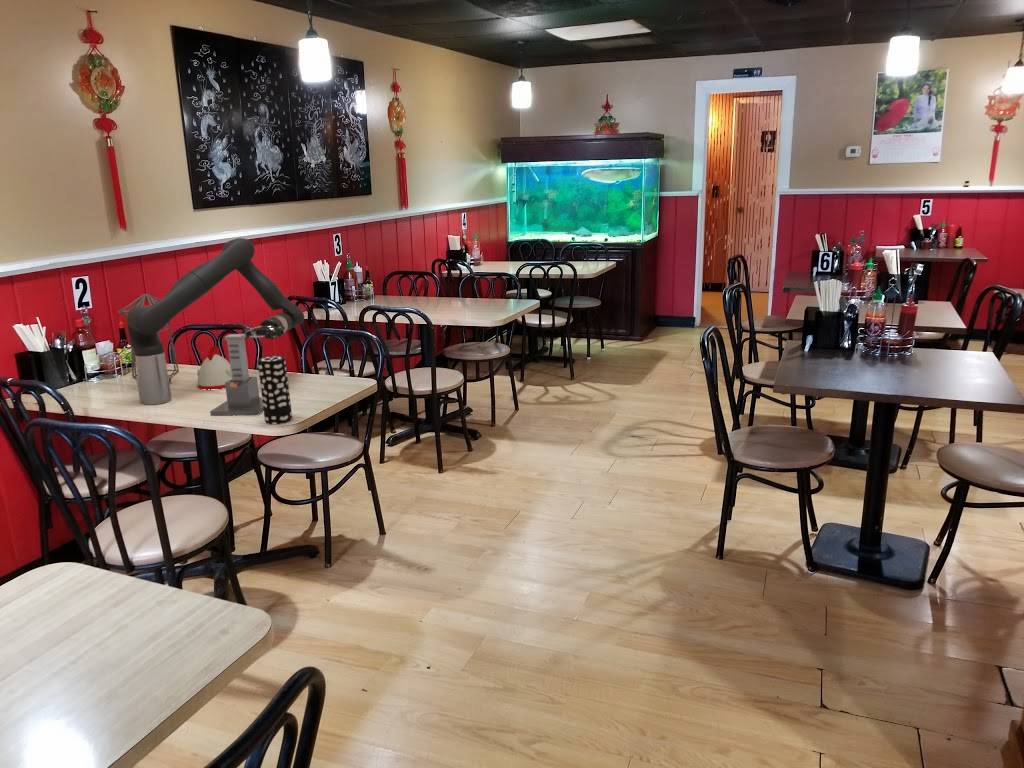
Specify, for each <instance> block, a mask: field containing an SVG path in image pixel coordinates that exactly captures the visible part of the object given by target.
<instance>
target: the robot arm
mask: <svg viewBox="0 0 1024 768" xmlns="http://www.w3.org/2000/svg"><path fill="white" fill-rule="evenodd" d="M255 251H256V250H255V245H254V244H253V242H251V240H249V239H247V238H244V237H243V238H240V237H239V238H234V239H230V240H228V241H226V242H225V243H224V244H223V246H222V251H221V252H220V253H219V254H218V255H216V256H215V257H213V258H211V259H210V260H208V261H205V262H204V263H201V264H199V265H197V266H196V267H194V268H192V269H190V270H189V271H188V272H186V273H185V274H184V275H183V276H181V277H180V278H179V279H177V280H176V281H175V282H174V284H173V285H172V287H171V288H170V290H169V291H167V293H166V294H165V296H164V297H162V298H161V299H160V300H157V302H156V303H155V304H153V305H152V306H151V305H150V307H148V308H147V307H136V308H135V307H133V309H132V310H130V311H129V313H127V315H128V316H126V326H127V331H128V337H129V340H130V341H129V342H130V346H131V345H132V348H133V349H134V355H135V365H136V371H137V374H138V376H137V377H136V378H135V379H136V380H135V381H136V386H137V391H138V398H139V403H140V404H141V405H142V404H143V405H147V406H148V405H153V404H154V405H159V404H160V403H161V404H164V403H168V402H170V401H172V399H173V398H172V392H171V387H170V385H171V384H169V378H168V375H169V374H168V372H169V371H167V370H168V367H167V362H166V354H165V348H164V345H163V343H162V341H161V342H160V340H161V339H160V340H159V338H158V333H157V332H159V331H162V330H163V327H166V325H167V324H168V322H169V323H170V321H172V319H173V318H174V317H176V316H177V315H178V314H180V313H181V312H182V311H184V310H185V309H187V308H188V307H189V306H191V305H192V304H193V303H196V301H198V300H199V299H200V298H202V297H203V296H204V295H206V294H207V293H208V292H209V291H211V290H212V289H213V288H214V287H216V286H217V285H218V284H219V283H220V282H221V281H222V280H224V279H226V278H225V277H227V276H229V274H231V273H232V272H234V271H235V270H237V272H238V273H239V274H240V275H241V276H242V277H243V278H244V279H245V280H246V281H247V282H248V283H249V284H250V285H251V286H252V287H253V289H254V290H255V291H256V292H257V293H258V295H259V296H260V297H261V298H262V300H263V301H264V302H265V304H266V305H268V307H269V309H270V310H272V311H277V310H284V311H282V312H280V313H278V314H276V315H273V316H270V317H268V318H266V319H263V320H262V321H261V322H260V324H259V325H258V326H256V327H255V326H254V327H247V328H245V329H242V330H241V334H246V338H244V340H248V339H250V338H255V339H256V338H264V339H266V340H274V339H275V340H276V338H278V337H282V336H284V335H286V334H287V333H286V332H287V331H290V330H291V329H293V328H296V327H297V326H300V325H301V324H302V323H303V322H304V321H305V313H304V311H303V310H302V309H301V308H300V307H298V305H296V304H294V303H293V302H292V301H290V299H288V298H287V297H286V296H285V295H284V293H283V292H282V290H281V289H280V288H279V287H278V286H277V285H276V284H275V283H274V282H273V281H272V280H271V278H269V277H268V276H266V275H265V274H264V273H263V272H262V271H261V270H260V269H259V268H258V267H257V266H256V265H255V264H254V262H253V261H252V259H253V258H254V255H255Z"/></svg>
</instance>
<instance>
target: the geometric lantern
mask: <svg viewBox="0 0 1024 768" xmlns="http://www.w3.org/2000/svg"><path fill="white" fill-rule="evenodd" d="M146 299H147V300H148V303H149V305H150V306H152V305H153V304H155V303H156V302H158V301H159V300H161V299H160V298H158V297H155V296H153V295H151V294H148V293H145V294H144V293H143V294H142V295H141V296H139V297H138V298H136V299H135V300H134V301H132V302H131V303H129V304H128V305H126V306H125V307H123V308H121V309H120V310H118V314H122V315H123V316H126V317H127V316H128V313H129V312H130V311H131V310H132V309H133V308H136V307H146V308H148V307H150V306H149V305H144V303H145V301H146ZM129 307H130V308H129ZM127 308H129V309H128V310H127ZM166 325H167V326H164V327H163V328H165V329H163V328H162V329H161V330H160V331H158V332H157V336H158V338H159V340H160V342H161V343H162V341H161V335H160V333H161V332H165V331H168V334H169V342H170V348H171V349H170V350H171V355H172V356H171V357H172V361H173V369H167V372H172V373H170V374H168V379H169V382H170V383H171V384H172V383H173V382H172V379H173V378H174V377H175V376H176V375H177V374H178V373H180V370H179V365H178V361H177V355H176V350H175V346H174V340H173V336H172V330H171V325H170V321H169V322H168V323H167V324H166ZM130 348H131V351H130V352H131V354H130V356H131V373H132V375H131V377H132V379H134V380H135V381H137V380H136V377H137V376H138V373H137V364H136V358H135V353H134V349H133V348H132V345H131V344H130ZM170 383H169V385H171V384H170Z"/></svg>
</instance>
